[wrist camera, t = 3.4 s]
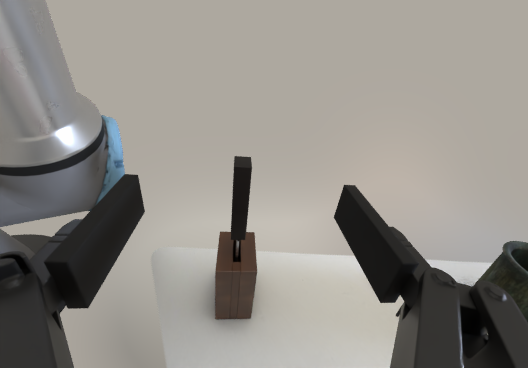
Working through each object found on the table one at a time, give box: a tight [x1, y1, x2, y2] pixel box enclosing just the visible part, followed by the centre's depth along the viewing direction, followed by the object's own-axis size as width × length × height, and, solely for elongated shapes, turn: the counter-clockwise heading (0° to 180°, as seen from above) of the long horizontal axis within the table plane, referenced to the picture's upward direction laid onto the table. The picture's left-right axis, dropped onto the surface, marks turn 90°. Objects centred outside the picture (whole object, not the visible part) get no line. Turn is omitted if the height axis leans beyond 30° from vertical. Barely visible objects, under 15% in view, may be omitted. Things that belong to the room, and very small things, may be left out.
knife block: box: [215, 232, 257, 319], centre depth 34 cm, size 5×7×10 cm
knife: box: [231, 156, 252, 262], centre depth 30 cm, size 2×3×23 cm, turn 5°
